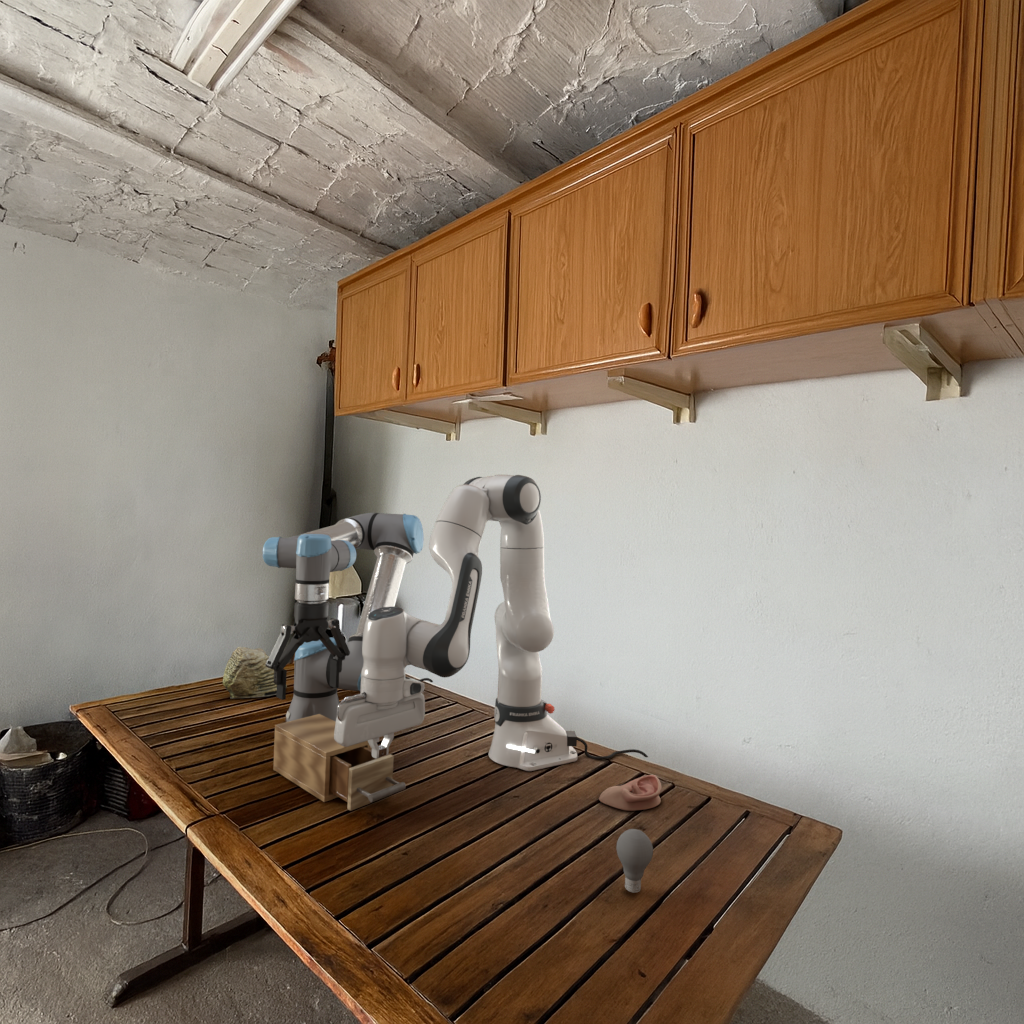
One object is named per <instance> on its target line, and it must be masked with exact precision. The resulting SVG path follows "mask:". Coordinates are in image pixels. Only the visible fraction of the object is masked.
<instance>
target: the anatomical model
mask: <svg viewBox="0 0 1024 1024" xmlns="http://www.w3.org/2000/svg"><path fill="white" fill-rule="evenodd" d="M662 788H663V787H662V783H661V781H660V779H659V777H658V776H656V775H654V774H648V775H644V776H639V777H637V778H634V779H633V780H630V781H628V782H627V783H624V784H621V785H613V786H610V787H607V788H606V789H604V790H603V791H602V792H601V794H599V796H598V801H600V802H601V803H602V804H604V805H607V806H610V807H612V808H614V809H617V810H621V811H631V812H632V811H642V810H643V811H644V810H648V809H653V808H655V807H657V806H659V805H660V804H661V802H662V801H661V798H660V794H661V792H662V790H663V789H662Z"/></svg>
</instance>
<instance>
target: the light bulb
mask: <svg viewBox="0 0 1024 1024" xmlns="http://www.w3.org/2000/svg"><path fill="white" fill-rule="evenodd" d="M615 849H616V854H617V857H618V859H619V861H620V863H621V865H622V867H623V873H624V874H623V875H624V876H625V878H624V888H625V890H627V891H628V892H630V893H634V894H635V893H639V892H640V891H641V889H642V887H641V886H642V879H643V877H644V875H645V871H646V868H647V867H648V866H649V864H650V863H651V861H652V859H653V855H654V847H653V843H652V841H651V838H649V836H648V835H647V834H646V833H645V832H643V831H642V830H641V829H636V828H629V829H627V830H625V831H623V832H622V833H621V834H620V835H619V837H618V839H617V841H616V847H615Z"/></svg>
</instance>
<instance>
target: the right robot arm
mask: <svg viewBox="0 0 1024 1024" xmlns="http://www.w3.org/2000/svg"><path fill="white" fill-rule="evenodd" d="M541 498H542V494H541V490H540V488H539V486H538V484H537V482H536V481H535V479H533V478H531V477H529V476H526V475H522V474H512V475H511V474H493V475H487V476H476V477H473V478H472V477H471V478H470V479H468V480H466V481H465V482H464V483H462V484H459V485H457V486H455V487H454V488H453V489H452V490H451V491H450V493H449V494H448V496H447V498H446V499H445V501H444V503H443V505H442V507H441V509H440V511H439V512H438V515H437V517H436V521H435V522H434V525H433V528H432V530H431V533H430V537H429V541H428V549H429V552H430V555H431V557H432V560H434V562H435V563H436V564H437V565H438V566H439V567H441V568H442V569H443V570H444V571H445V572H446V573H447V574H448V575H449V576H450V578H451V591H450V595H449V599H448V600H449V601H448V605H447V610H446V613H445V617H444V620H443V622H442V623H441V624H440V623H434V622H432V621H429V620H424V619H421V618H417V617H415V616H412V615H410V614H409V613H407V612H406V611H405V610H404V608H402V607H400V606H395V607H382V608H378V609H376V610H374V611H372V612H371V613H369V615H368V616H367V619H366V622H365V626H364V632H363V642H362V655H363V660H364V664H363V668H362V671H361V689H360V691H359V693H357V694H354V695H348V696H345V697H344V698H343V699H342V700H341V701H339V702H340V704H339V705H338V707H337V718H336V723H335V730H334V739H335V741H336V742H337V743H338V744H340V745H342V746H344V747H348V746H352V745H355V744H358V743H361V742H365V741H368V743H369V745H370V746H371V748H372V757H373V758H375V759H376V758H379V757H384V756H387V755H389V749H390V747H391V744H392V742H393V740H394V738H395V733H397V732H401V731H405V730H407V729H410V728H414V727H417V726H420V725H422V723H423V722H424V720H425V717H426V700H425V699H426V698H425V695H424V691H425V686H426V685H425V683H424V682H423V681H422V682H420V681H418V680H419V679H418V680H417V679H415V678H412V677H409V676H406V667H407V666H413V667H414V668H418V669H421V670H425V671H427V672H429V673H432V674H434V675H436V676H438V677H440V678H450V677H452V676H454V675H456V674H457V673H458V672H460V671H462V669H463V668H464V667H465V665H466V664H467V663H468V661H469V657H470V653H471V637H472V636H471V635H472V628H473V623H474V618H475V613H476V608H477V603H478V599H479V593H480V588H481V582H482V576H483V564H482V561H481V559H480V557H479V552H480V545H481V542H482V539H483V536H484V532H485V529H486V525H487V522H488V521H491V522H498V523H499V525H500V539H499V567H500V568H499V573H500V574H499V576H500V577H499V578H500V583H501V587H502V593H503V598H504V599H503V600H502V601H501V602H500V603H499V604H498V605H497V607H496V609H495V611H494V616H493V617H494V624H495V644H496V655H497V668H498V671H497V693H496V694H497V695H496V696H497V697H496V698H495V703H494V711H493V712H494V715H493V717H494V722H495V723H494V730H493V735H492V740H491V743H490V747H489V750H488V752H487V753H488V755H487V756H488V757H489V759H490V760H491V761H493V762H494V763H497V764H499V765H502V766H506V767H511V768H515V769H516V768H517V769H520V770H523V771H526V772H532V771H537V770H542V769H547V768H551V767H556V766H560V765H564V764H569V763H573V762H576V761H578V752H577V750H576V749H575V748H574V747H578V746H577V745H578V744H577V743H578V742H580V743H581V744H583V746H584V754H585V756H586V757H587V758H590V759H592V760H597V761H599V760H610V759H612V758H613V757H615V756H616V755H623V754H629V753H637V754H640V755H642V756H643V757H644V758H649V756H648V755H647V753H645V752H644V751H642V750H639V749H633V748H631V749H623V750H617V751H614V752H612V753H611V754H609V755H601V756H593V755H591V754H589V753H588V744H587V742H586V741H585V740H584V739H582V738H580V737H578V735H577V734H576V732H575V730H565V728H564V727H563V726H561V724H560V723H558V722H557V721H556V720H555V719H553V718H552V717H551V716H550V715H551V714H554V712H555V710H556V709H555V706H554V705H552V703H548V702H547V701H545V700H543V699H542V687H543V686H542V685H543V666H542V663H541V659H540V652H542V651H544V650H546V648H548V647H549V646H550V644H551V643H552V641H553V639H554V634H555V628H554V624H553V621H552V618H551V613H550V612H551V611H550V605H549V599H548V593H547V586H546V579H545V535H544V534H545V533H544V526H543V520H542V519H543V518H542V515H541V511H540V507H541V502H542V500H541ZM381 737H383V739H382V740H381V744H380V745H378V743H379V742H380V738H381Z"/></svg>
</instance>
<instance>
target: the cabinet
mask: <svg viewBox="0 0 1024 1024" xmlns="http://www.w3.org/2000/svg"><path fill="white" fill-rule="evenodd" d="M335 723H336V722H335V721H333V720H331V719H329V718H327V717H325V716H323V715H321V714H317V715H313V716H309V717H305V718H301V719H297V720H293V721H289V722H286V721H285V722H281V723H278V724H274V738H273V739H274V740H273V741H274V742H273V765H272V767H273V769H272V770H273V771H274V772H276V773H278V774H279V775H281V776H282V777H284V778H286V779H287V780H288V781H290V782H292V783H293V784H295V785H297V786H298V787H300V788H301V789H303V790H304V791H305V792H307V793H309V794H311V795H312V796H314V797H315V798H316V799H318V800H320V801H321V802H323V803H326V802H328V801H332V800H333V799H334V800H335V799H337V798H339V797H338V796H336V795H334V794H333V793H331V792H330V791H329V781H330V756H334V755H337V754H340V753H343V752H346V751H350V750H353V749H356V748H359V747H362V746H365V747H367V748H369V749H371V750H372V748H371V746H370V745H369V743H368V741H365V742H361V743H358V744H355V745H352V746H348V747H344V746H342V745H340V744H338V743H337V742H336V741H335V739H334V730H335Z"/></svg>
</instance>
